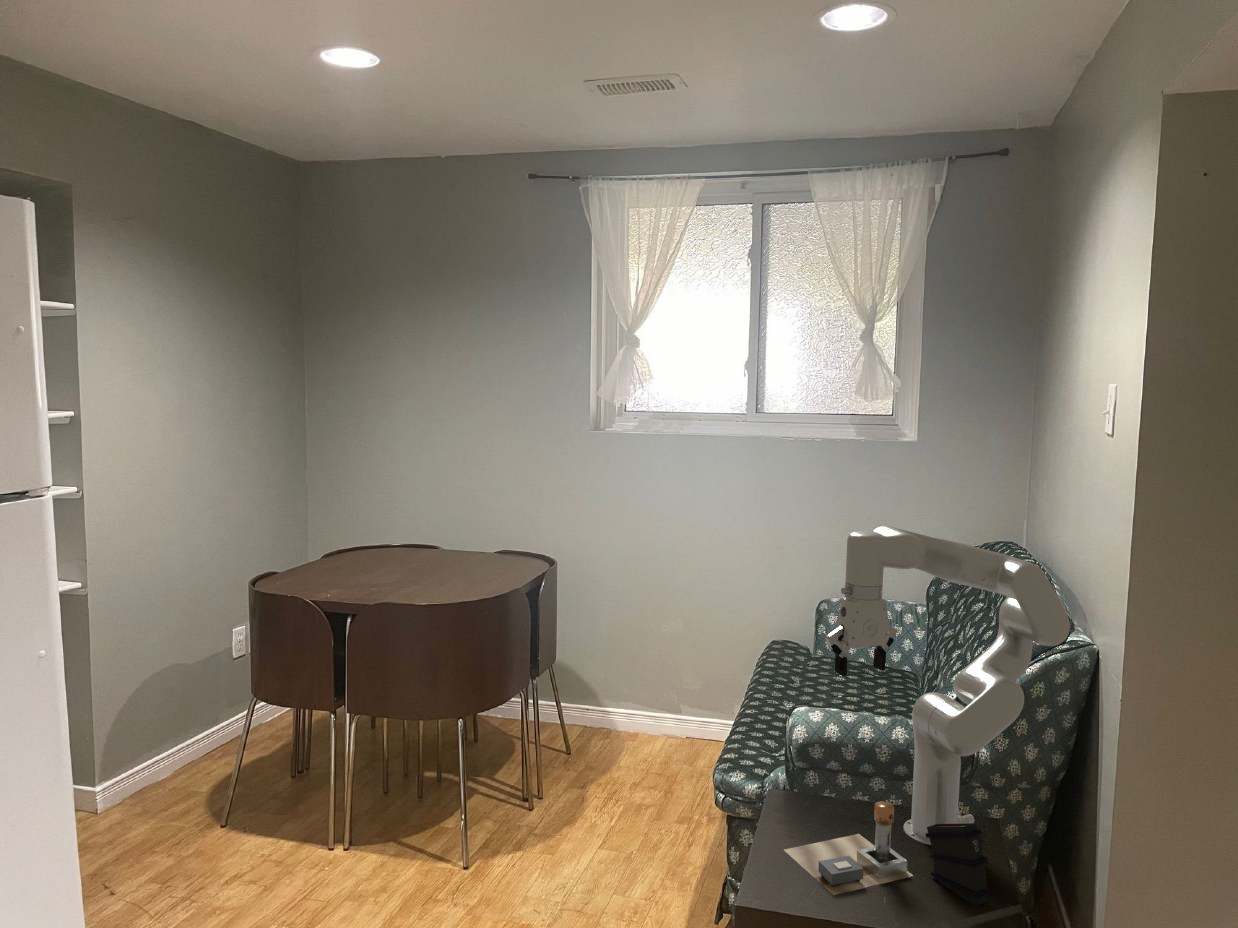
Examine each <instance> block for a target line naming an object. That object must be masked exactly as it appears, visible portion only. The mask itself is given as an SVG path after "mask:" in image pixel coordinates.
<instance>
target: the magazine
mask: <svg viewBox="0 0 1238 928" xmlns="http://www.w3.org/2000/svg"><path fill="white" fill-rule="evenodd" d="M927 830H928V833H926V834H925V835H926V838H930V842H931V845H930V846H931V851H932V853H930V854H929V857H930V858H932V859H933V871H930V875H931V876H933V879H934V880H935V881H937V882H938V883H940V884H941V885H943V886H944V887H946V888H947V889H949V890H950V891H952V892H954V894H956V895H958V896H960V897H961V898H962V899H964V900H965V901H967V902H968V903H969V904H971V905H973V906H979V905H982V904H984V903H987V896H988V895H990V894H991V893H990V892H991V891H990V887H989V888H988V887H987V874H986V873H987V872H986V864H988V857H987V856H984V852H983V851H984V850H983V846H982V841H981V838H980V835H982V833H983V832H982V830H981V829H980V828H979V829H978V827H977V824H976V823H975V822H974V823H963V824H935V825H932V826H928V827H927Z"/></svg>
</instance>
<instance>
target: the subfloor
mask: <svg viewBox="0 0 1238 928" xmlns="http://www.w3.org/2000/svg"><path fill="white" fill-rule="evenodd" d="M874 846H875V844H873V843H871V841H869V840H868V839H866V838H865V837H864V836H862V835H861V834H860V833H856V834H851V835H848V836H847V835H846V836H843V837H842V836H841V837H837V838H832V839H826V840H822V841H819V842H814V843H809V844H804V845H799V846H795V847H790V848H785V849H783V851H784V852H785V853H786V854H787V855H789V857H790V858H792V859H793V861H795V862H796V863H797V864H798V865H799V866H801V867H802V868H803V869H804V870H805V871H806V872H807V873H809V875H810V876H812V877H813V878H814V879H815V880H816V881H817V882H818V883H820V885H822V886H823V887H824V888H825V889H826V890H827V891H828V892H829V893H830V894H832V895H833V896H836V895H839V894H840V895H841V894H844V893H849V892H853V891H857V890H860V889H865V888H869V887H874V886H878V885H883V884H887V883H890V882H895V881H900V880H903V879H907V878H912V877H914V875H913V874H912V873H911V872H910V871H908V870H907V873H903V874H899V875H894V876H890V877H886V878H882V879H877V878H876V877H875V876H873V875H872V874H871V873H870V872H869V871H867V870H866V869H865V868H864V867H862V866H861V865H860V864H859V863H858V864H859V865H860V866H861V867H862V868H863V879H861V880H860V881H859V882H857V881H856V880H855V881H850V882H845V883H839V884H836V885H835V886H834V887H832V886H831V885H830V883H829V882H828V881H827V880H826V879H825V878H824V877H822V876H821V874H820V873H819V872H818V868H819V861H822V860H828V859H833V858H839V857H845V856H850V857H851V858H853V859H854V860H855V861H856V862H857V850H861V849H865V848H870V847H874Z"/></svg>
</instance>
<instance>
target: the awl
mask: <svg viewBox="0 0 1238 928" xmlns="http://www.w3.org/2000/svg"><path fill="white" fill-rule="evenodd" d="M873 820H874V821H875V837H874V846H875V854H874V859H875V860H876V861H878V862H879V863H883V862H887V861H890V848H891V840H892V839H891V837H892V824H893V823H894V820H895V805H894V804H893V803H891V802H889V801H881V800H880V801H877V802H876V801H875V803H874V814H873Z"/></svg>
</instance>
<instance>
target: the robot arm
mask: <svg viewBox="0 0 1238 928" xmlns="http://www.w3.org/2000/svg"><path fill="white" fill-rule="evenodd" d="M846 540H847V541H846V559H845V561H846V562H845V584H844V587H842V588H841V589H840V593H841V594H842V595H844V596H843V597H842V599H841V602H840V607H839V612H838V620H837V627H836V628H835V629H833V630H832V631H830V632H828V634H826V635H825V637H824V638H825V641H826V644H827V645H828V648H829V649H830V651H831V652H832V654H834V656H835V657H834V671H835V673H836V674H838V675H840V676H842V677H846V676H847V674H848V657H847V654H848V652H849V651H850V650H851V649H853V650H854V649H855V650H859V649H865V648H866V649H867V648H874V650H873V664H872V665H873V667H874V668H875V669H877V670H879V671H882V672H885V671H886V664H887V663H886V662H887V653H889V651H890V647H892V644H893V643H894V641H895V640H894V639H895V637H896V635H897V634H898V629H897V628H895V627H893V626H891V625H889V612H888V606H887V605H888V604H887V600H886V598H885V597H884V596H883V589H884V587H883V585H884V569H885V568H889V569H898V570H911V569H916V570H919V571H922V572H923V573H926V574H929V575H931V576H934V577H936V578H939V579H940V580H944V581H948V582H951V583H953V584H958V585H961V586H962V585H963V586H967V587H971V588H975V589H978V590H983V591H986V592H992V593H995V594H999V595H1002V596H1004V597H1006V598H1005V599H1004V601H1002V603H1001V605H1000V608H999V611H998V612H999V613H998V631H997V635H996V638H995V640H994V642H993V643H992V644H991V645H990V646H989V647H988V648H986V650H985V651H984V652H982V653H981V654H980V655H979V656H978V657H976V658H975V659H974V660H973V661H971V662H970V663H969V664H967V666H966V667H964V668H963V669H962V670H961V671H960V672H959V673H958V674H957V675H956V676H955V678H954V681H953V683H952V686H953V687H952V688H953V691H954V694H955V695H956V696H957V698H958V699H959V700H960V701H962V702H963V703H964V704H966V706H964V705H963V704H962V703H960V702H958V701H957V700H955V699H953V698H951V697H950V696H948V695H946V694H945V693H944V694H943V693H940V692H936V691H935V692H932V691H931V692H927V693H924V694H922V695H921V696H919V697H918V698H917V700H916V701H915V702H914V704H913V708H912V713H911V720H912V722H911V723H912V729H913V730H912V731H913V737H914V741H913V742H914V759H913V761H914V762H913V776H912V799H911V801H912V802H911V818H910V819H908V820H906V821H905V822H904V824H903V832H904V833H905V834H906V835H907V836H909V837H910V838H912V840H915V841H917V842H919V843H921V844H924V845H929V846H931V842H930V838H926V835H925V834H926V833H928V830H927V827H928V826H932V825H935V824H963V823H975V817H974V815H972V814H971V813H969V814H964V815H962V814H961V812H960V811H959V798H960V782H961V781H960V778H961V767H962V766H961V764H962V761H961V757H968V756H972V755H975V754H976V753H978V752H979V751H981V750H982V749H983V748H984V747H986V746H988V744H989V743H990V742H992V741H993V740H994V739H995V738H997V737H998V736H999V735H1000V734H1001V733H1003V731H1005V730H1006V729H1007V728H1008V727H1010V725H1011V724H1013V723H1014V722H1015V721H1016V719H1018V717H1019V716H1020V715H1021V712H1022V711H1023V708H1024V704H1025V694H1024V690H1023V688H1022V687H1021V686H1020V684H1019V683H1018V682H1017V680H1018V679H1019V678H1020V677H1021V676H1022V675H1023V674H1024V673H1025V672H1026V670H1027V669H1029V666H1030V663H1031V661H1032V654H1033V642H1034V643H1037V644H1039V645H1042V646H1045V647H1055V646H1058V645H1060V644H1062V643H1063V642H1064V641H1065V640H1066V639H1067V638H1068V636H1069V635H1070V634H1069V633H1070V629H1071V627H1070V626H1071V625H1070V624H1071V623H1070V619H1069V616H1068V613H1067V611H1066V609H1065V608H1064V605H1063V604H1062V601H1061V600H1060V598H1059V596H1058V594H1057V592H1056V591H1055V588H1054V587H1053V586H1052V583H1051V582H1050V580H1049V579H1048V577H1047V575H1046V574H1045V572H1044V571H1043V570H1042V569H1041V568H1040V567H1039V566H1038V565H1037V564H1035V563H1032V562H1030V561H1027V560H1024V559H1020V558H1017V557H1015V556H1011V555H1009V554H1004V553H1001V552H996V551H993V550H989V549H984V548H982V547H981V548H980V547H976V546H973V545H968V544H965V543H961V542H959V541H958V542H957V541H953V540H948V539H944V538H943V539H942V538H938V537H937V538H936V537H933V536H929V535H924V534H921V533H917V532H913V531H909V530H905V529H901V528H896V527H893V526H889V525H881V526H878V527H877V528H874V529H873V530H872V531H864V530H862V531H861V530H860V531H853V532H851V533H849V534H848V536H847V539H846ZM836 640H837V643H836Z"/></svg>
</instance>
